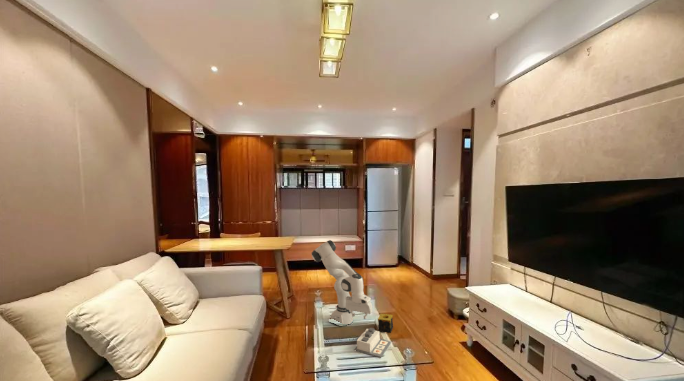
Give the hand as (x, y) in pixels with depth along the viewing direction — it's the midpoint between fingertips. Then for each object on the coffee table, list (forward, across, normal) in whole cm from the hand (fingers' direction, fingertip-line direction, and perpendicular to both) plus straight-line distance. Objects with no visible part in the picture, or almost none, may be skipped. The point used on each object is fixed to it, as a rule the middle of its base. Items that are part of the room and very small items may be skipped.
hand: (359, 317), depth 183 cm
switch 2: (+18, +5, +9) cm, 21 cm away
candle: (+21, +8, +29) cm, 37 cm away
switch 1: (+19, +5, -2) cm, 20 cm away
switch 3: (+18, +5, +4) cm, 19 cm away
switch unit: (+21, +8, +4) cm, 22 cm away
